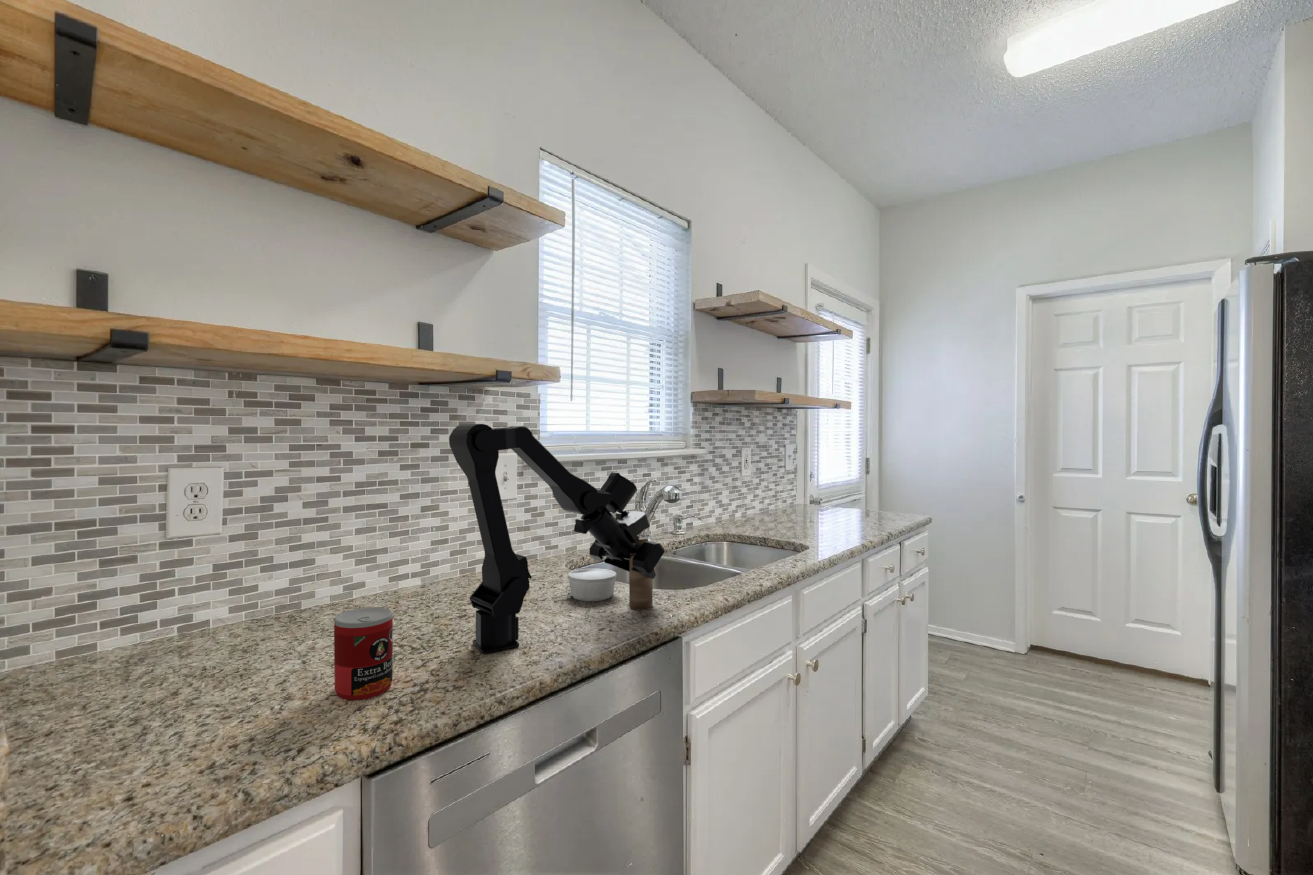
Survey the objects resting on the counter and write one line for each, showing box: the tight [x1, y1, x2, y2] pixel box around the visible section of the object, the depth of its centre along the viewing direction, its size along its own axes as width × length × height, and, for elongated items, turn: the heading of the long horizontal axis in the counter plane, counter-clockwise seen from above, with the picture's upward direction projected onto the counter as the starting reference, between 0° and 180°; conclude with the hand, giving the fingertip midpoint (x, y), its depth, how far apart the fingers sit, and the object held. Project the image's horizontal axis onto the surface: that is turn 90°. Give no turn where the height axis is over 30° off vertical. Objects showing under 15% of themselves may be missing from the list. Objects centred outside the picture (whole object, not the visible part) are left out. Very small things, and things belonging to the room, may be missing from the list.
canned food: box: [333, 606, 394, 701], centre depth 88 cm, size 8×8×11 cm
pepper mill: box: [628, 537, 654, 611], centre depth 129 cm, size 5×5×15 cm
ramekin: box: [567, 568, 618, 602], centre depth 138 cm, size 11×11×5 cm
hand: (645, 574), depth 130 cm, fingers closed on pepper mill, 5 cm apart
